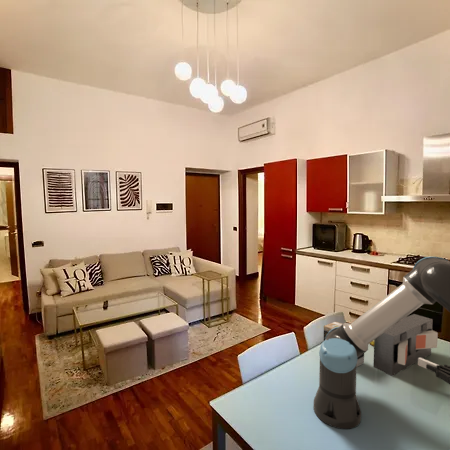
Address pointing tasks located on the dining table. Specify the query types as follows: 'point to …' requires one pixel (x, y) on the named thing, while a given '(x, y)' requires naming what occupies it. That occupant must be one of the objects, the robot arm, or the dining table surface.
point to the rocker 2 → (426, 340)
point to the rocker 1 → (402, 352)
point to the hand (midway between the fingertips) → (419, 361)
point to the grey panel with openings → (390, 341)
